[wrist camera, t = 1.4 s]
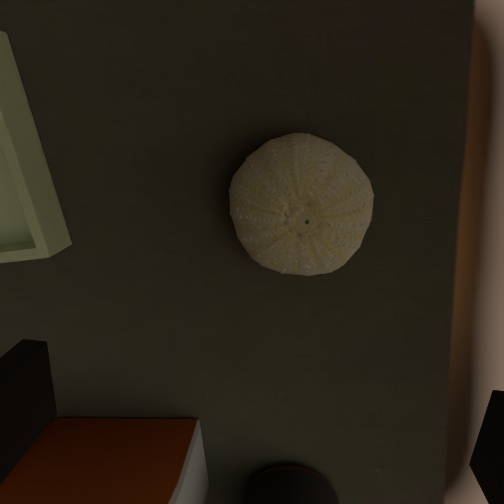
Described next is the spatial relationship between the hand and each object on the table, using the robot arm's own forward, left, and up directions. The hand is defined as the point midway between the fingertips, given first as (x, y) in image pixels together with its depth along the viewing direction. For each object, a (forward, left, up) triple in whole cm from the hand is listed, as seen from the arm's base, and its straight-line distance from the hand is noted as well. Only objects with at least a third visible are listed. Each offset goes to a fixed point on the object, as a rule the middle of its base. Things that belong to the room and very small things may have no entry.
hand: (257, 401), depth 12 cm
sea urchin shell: (-2, -1, -18) cm, 18 cm away
